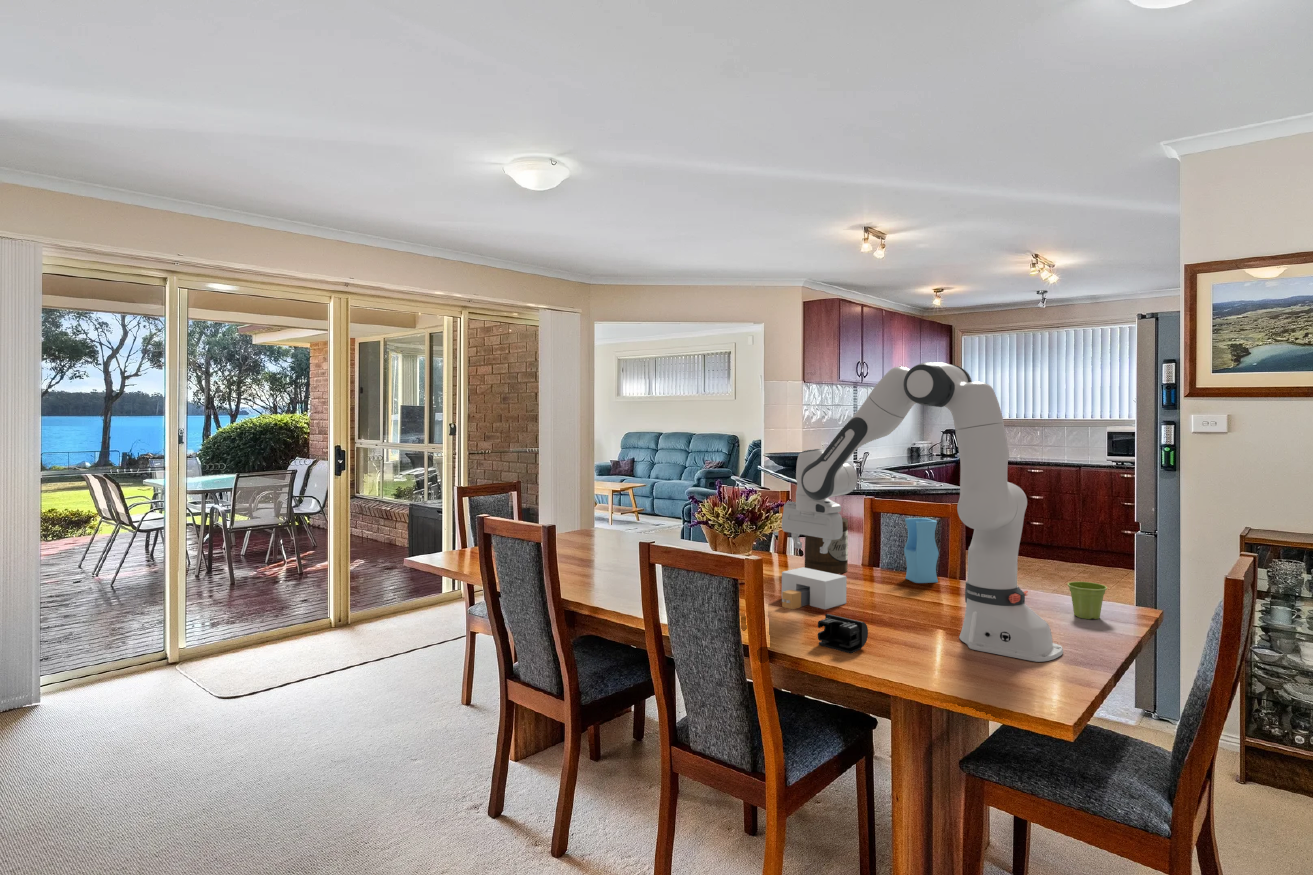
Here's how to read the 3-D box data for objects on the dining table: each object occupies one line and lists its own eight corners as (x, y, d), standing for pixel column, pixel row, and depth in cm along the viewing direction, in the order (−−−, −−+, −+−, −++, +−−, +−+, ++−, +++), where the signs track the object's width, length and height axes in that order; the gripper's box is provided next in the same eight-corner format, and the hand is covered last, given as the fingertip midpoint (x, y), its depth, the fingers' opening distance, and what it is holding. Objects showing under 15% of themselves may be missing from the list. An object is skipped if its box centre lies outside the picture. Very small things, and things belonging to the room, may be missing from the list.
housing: (846, 603, 214) (846, 576, 214) (825, 609, 208) (825, 581, 208) (802, 592, 227) (802, 567, 226) (781, 598, 220) (781, 571, 220)
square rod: (844, 594, 224) (844, 580, 224) (789, 610, 208) (789, 594, 207) (834, 592, 227) (835, 578, 227) (780, 607, 210) (780, 592, 210)
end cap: (868, 647, 175) (868, 619, 175) (852, 654, 170) (853, 625, 170) (831, 638, 182) (832, 611, 182) (816, 644, 177) (816, 617, 177)
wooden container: (840, 576, 249) (841, 512, 248) (798, 571, 256) (799, 509, 255) (852, 568, 262) (853, 506, 261) (812, 563, 269) (812, 504, 268)
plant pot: (1062, 616, 200) (1062, 585, 200) (1072, 609, 207) (1073, 579, 206) (1101, 623, 194) (1101, 591, 193) (1110, 616, 200) (1111, 585, 200)
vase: (903, 577, 246) (904, 518, 245) (925, 576, 248) (925, 517, 247) (916, 583, 238) (916, 522, 238) (938, 582, 240) (939, 521, 239)
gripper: (777, 501, 221) (776, 546, 222) (832, 508, 206) (832, 557, 206) (790, 499, 225) (790, 544, 226) (846, 506, 210) (845, 554, 210)
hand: (810, 550), depth 216 cm, fingers open, 8 cm apart
